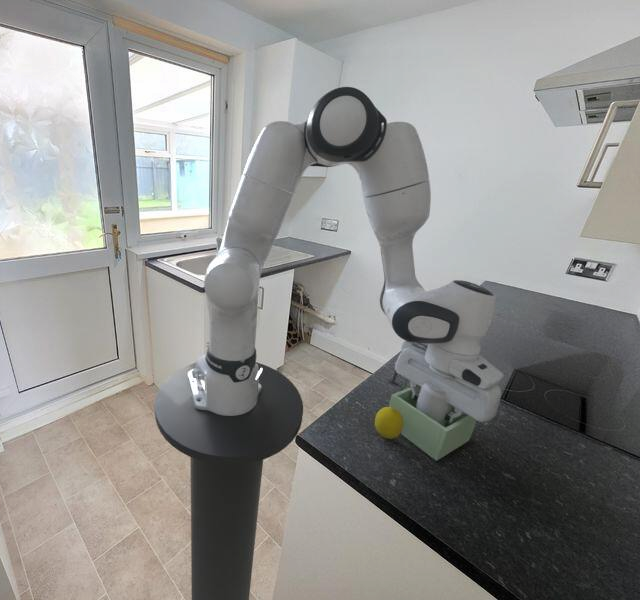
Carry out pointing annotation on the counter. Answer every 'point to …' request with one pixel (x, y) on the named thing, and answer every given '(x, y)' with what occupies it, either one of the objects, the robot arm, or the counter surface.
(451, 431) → the bin
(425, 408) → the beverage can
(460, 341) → the robot arm
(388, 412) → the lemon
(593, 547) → the counter surface
